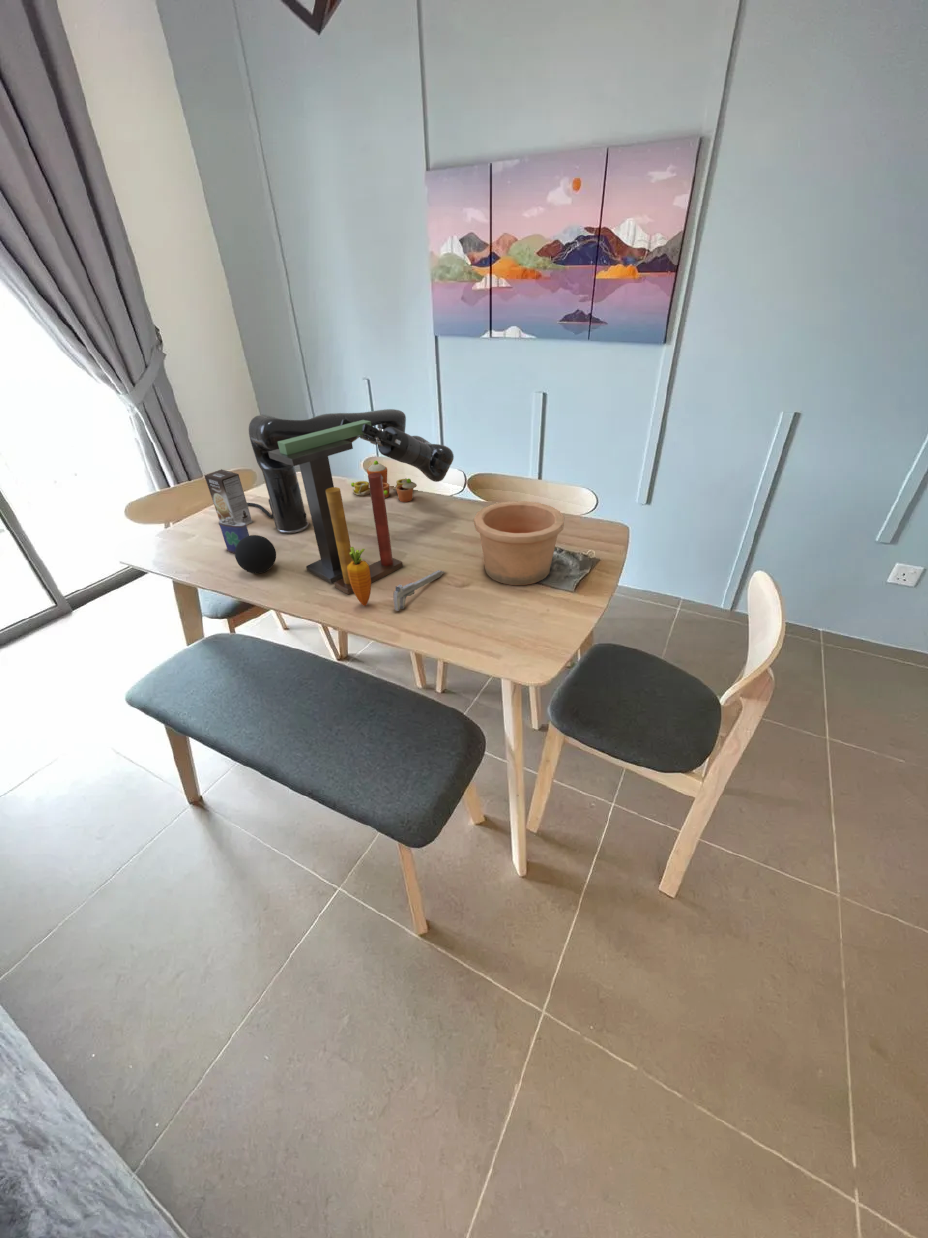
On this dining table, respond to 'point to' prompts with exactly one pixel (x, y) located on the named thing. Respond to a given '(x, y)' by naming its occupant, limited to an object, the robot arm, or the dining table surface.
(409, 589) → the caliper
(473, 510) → the dining table surface
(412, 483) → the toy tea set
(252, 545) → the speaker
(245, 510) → the coffee box
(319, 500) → the stand
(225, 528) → the blue clover container
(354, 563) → the carrot
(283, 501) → the robot arm
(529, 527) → the pottery
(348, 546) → the rod rack
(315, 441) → the bar
